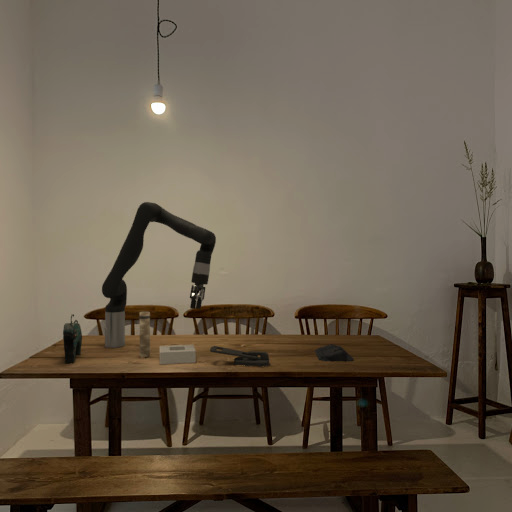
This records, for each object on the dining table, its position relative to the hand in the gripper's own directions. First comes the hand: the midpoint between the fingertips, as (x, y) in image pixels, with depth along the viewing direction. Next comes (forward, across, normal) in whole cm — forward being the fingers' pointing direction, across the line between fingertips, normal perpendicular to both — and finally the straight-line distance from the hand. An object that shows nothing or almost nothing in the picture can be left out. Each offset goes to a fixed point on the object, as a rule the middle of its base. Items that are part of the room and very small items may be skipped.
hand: (195, 308), depth 213 cm
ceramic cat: (+30, +12, -48) cm, 58 cm away
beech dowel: (+24, +3, -19) cm, 31 cm away
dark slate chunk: (+13, -14, +64) cm, 66 cm away
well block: (+23, +6, -3) cm, 24 cm away
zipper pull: (+20, +7, +25) cm, 33 cm away
